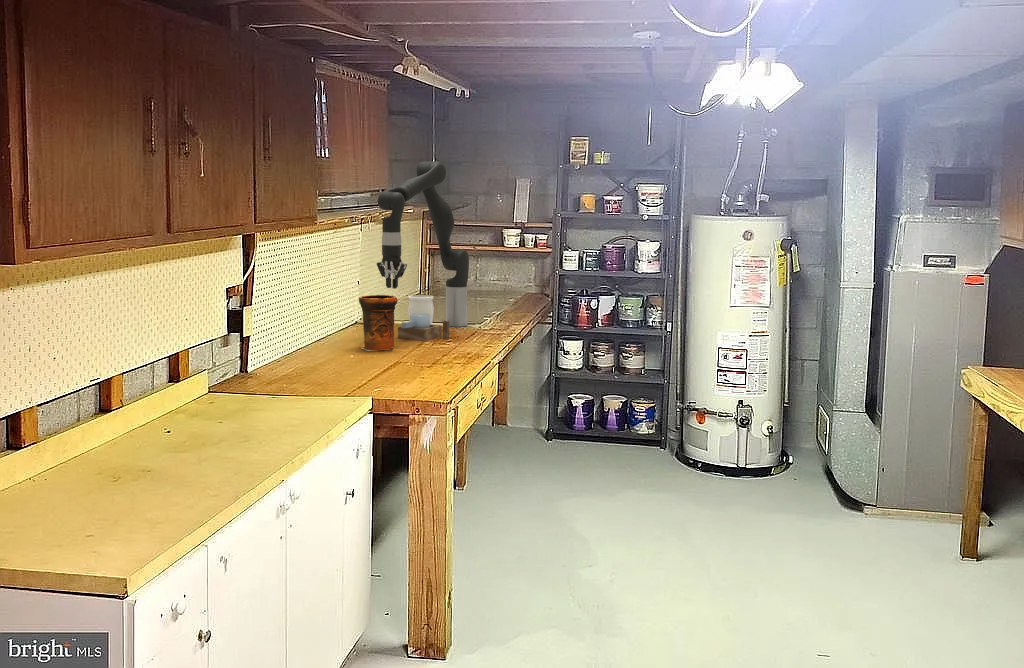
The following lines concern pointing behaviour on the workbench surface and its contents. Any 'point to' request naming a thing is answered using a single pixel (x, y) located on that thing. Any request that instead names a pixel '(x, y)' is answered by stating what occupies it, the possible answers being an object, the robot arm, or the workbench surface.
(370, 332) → the vessel
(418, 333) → the cradle
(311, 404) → the workbench surface
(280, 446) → the workbench surface
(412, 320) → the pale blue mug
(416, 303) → the jar
